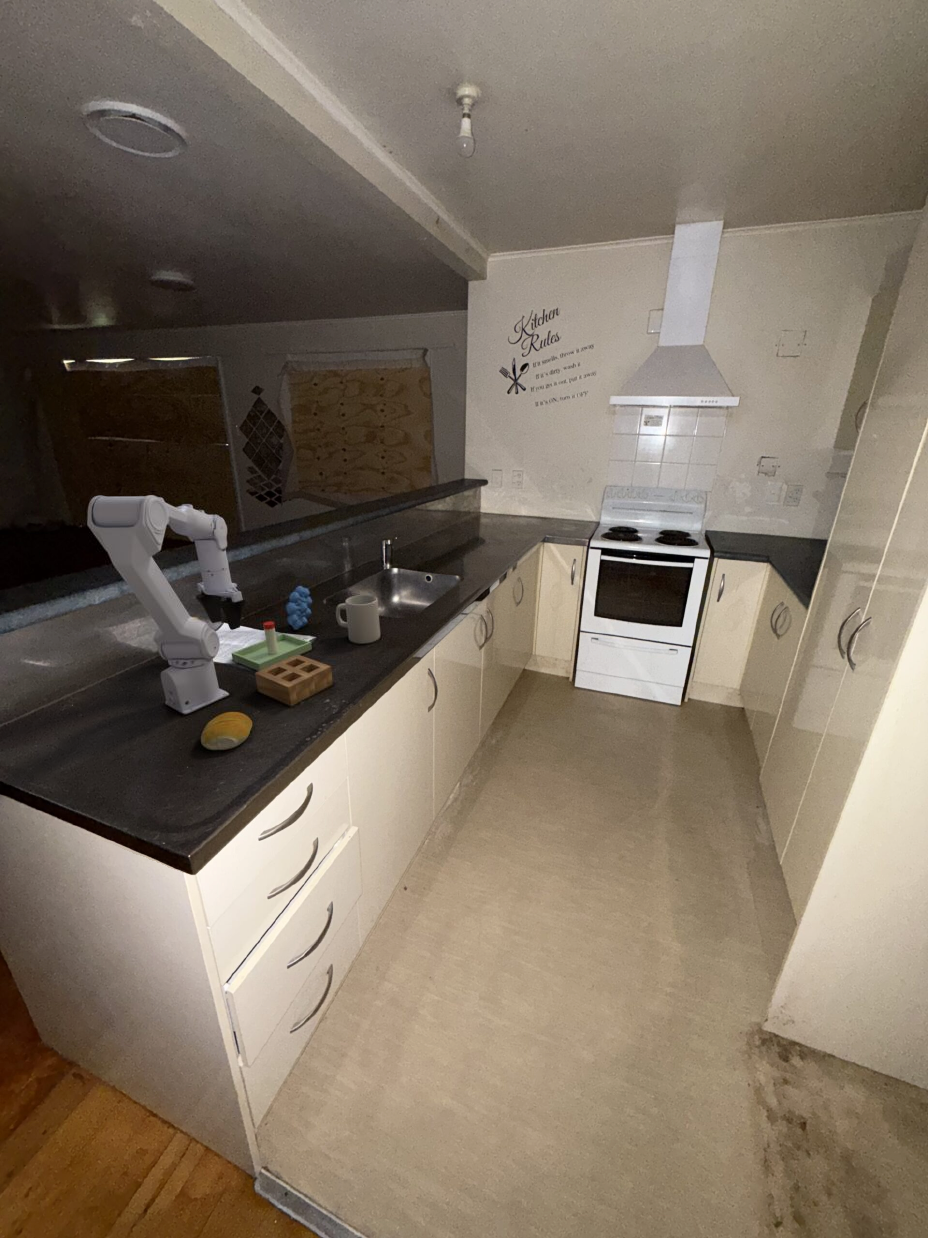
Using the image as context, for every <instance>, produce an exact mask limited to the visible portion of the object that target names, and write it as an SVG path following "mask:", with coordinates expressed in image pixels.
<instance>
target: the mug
mask: <svg viewBox="0 0 928 1238" xmlns="http://www.w3.org/2000/svg"><path fill="white" fill-rule="evenodd" d="M378 599H379V598H377V597H376V596H374V595H371V594H358V595H352V596H350V597H348V598H346V599H345V602H344V603H339V604H338V605H337V606H336V608H335V619H336V622H337V624H338V625H339V627H341V628H344V629H347V635H348V640H349V641H350V642H351V643H354V644H358V645H359V644H371V643H375V642H376V641H378V640H379V639H380V638H381V627H380V614H379V613H380V612H379V602H378V601H379V600H378ZM341 610H345V612H346V621H344V620H343V619H342V618H341Z"/></svg>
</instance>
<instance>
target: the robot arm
mask: <svg viewBox="0 0 928 1238" xmlns="http://www.w3.org/2000/svg"><path fill="white" fill-rule="evenodd" d="M86 524H87V527H88V528H89V529H90V531H91V532H92V534H93V536H95V538H96V539H97V540H98V542H99V543H100V545H101V546H102V548H103V549H104V550H105V551H106V552H107V554H108V556H109V558H110V561H111V563H112V565H113V566H114V568H115V570H116V571H117V572H118V573H119V575H120V576H121V578H122V579H123V580H124V582H125V583H126V584H127V586H128V587H129V588H130V590H131V591H132V592H133V594H134V595H135V597H136V598H137V599H138V601H139V602H140V603H141V605H142V606H143V608H144V609H145V610H146V611H147V613H148V614H149V615H150V617H151V619H153V621H154V623H156V625H157V626H158V627H157V628H156V630H155V633H154V634H153V642H154V643H155V644H156V646H157V652H158V653H159V656H160V657H161V658H162V659H163V660H165V661H167V664H168V665H169V667H167V668H165V669H164V670H162V671H161V672H160V681H161V686H162V689H163V693H164V698H165V700H166V701H165V705H166V706H168V707H170V708H172V709H174V710H175V711H177V712H179V713H181V714H183V715H188V714H191V713H193V712H196V711H197V710H199V709H201V708H204V707H206V706H208V705H210V704H212V703H215V702H217V701H220V700H222V699H223V698H226V697H228V696H230V693H229V692H228V691H226V690H223V689H222V688H220V687H219V682H218V681H219V680H218V677H217V672H216V669H215V668H216V667H215V663H214V659H215V657H216V656H217V655H218V653H219V651H220V646H221V645H220V637H219V634H218V633H217V632H216V630H215V629H213V628H211V627H210V626H209V624H208V623H207V622H205V621H204V620H200V619H199V620H198V619H195V618H193V617H194V616H193V617H192V616H191V615H190V614H189V612H188V611H187V609H186V607H185V606H184V605H183V603H182V602H181V600H180V598H179V596H178V594H176V592H175V590H174V589H173V587H172V586H171V584H170V582H169V581H168V580H167V578H166V577H165V575H164V574H163V572H162V570H161V568H160V567H159V565H158V564H157V563H156V561H155V559H154V558H153V556H155V555H156V554H157V553H159V552H160V551H161V550H162V546H163V541H164V538H165V533H166V529H167V526H169V527H170V529H171V530H172V531H173V532H174V533H176V534H178V535H182V536H184V537H187V538H188V539H189V540H190V542H194V545H195V549H196V550H195V551H196V554H197V560H198V564H199V565H198V566H199V569H200V575H201V579H202V582H198V583H196V585H197V590H198V592H199V593H200V594H197V595H195V599H196V600H197V601H198V602H199V604H200V605H201V606H202V607H203V609H204V611H205V612H206V615H207V616H208V619H209V620H210V622H211V624H215V623H219V622H222V617H223V616H222V615H223V614H224V616H225V619H226V622H227V625H228V627H229V630H230V631H234V630H237V629H240V628H241V623H242V613H243V610H244V607H245V605H246V603H247V598H246V597H243V594H242V591H240V590H238V589H237V587H238V584H237V583H235V582H232V578H231V572H230V566H229V565H230V564H229V561H228V560H229V559H228V555H227V549H226V548H227V547H228V539H227V535H228V526H227V524H226V521H225V519H224V518H223V517H222V516H220V515H218V514H208V513H205V510H202V509H195V508H194V506H193V504H190V503H182V504H181V505H179V506H173V505H172V504H169V503H167V502H166V501H165V499H164V498H163V497H161V496H160V497H159V496H156V495H153V494H150V495H145V496H143V495H139V496H138V495H137V496H105V495H95V496H94V497H92V498H91V499H90V501H89V503H88V507H87V523H86ZM222 598H225V599H224V600H222ZM222 612H223V614H222Z"/></svg>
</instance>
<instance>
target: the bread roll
mask: <svg viewBox="0 0 928 1238" xmlns="http://www.w3.org/2000/svg"><path fill="white" fill-rule="evenodd" d="M252 728H253V721H252V720H251V718H250V717H249V716H248V715H246V714H245V713H242V712H239V711H229V712H224V713H221V714H219V715H217V716H215V717H214V718H212V720H209V721H208V723H207V724H206V725H205V727H204V728H203V731H202V733H201V736H200V742H201V745H202V746H203V748H205V749H206V750H211V751H224V750H230V749H233V748H237V747H238V746H239V745H242V743H244V742H246V740H247V739H248V737H249V735H250V733H251V730H252Z"/></svg>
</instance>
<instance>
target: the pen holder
mask: <svg viewBox="0 0 928 1238" xmlns="http://www.w3.org/2000/svg"><path fill="white" fill-rule="evenodd" d="M254 676H255V682H256V687H257V692H259V693H261V694H263V695H265V696H267V697H270V698H272V699H274V700H276V701H278V702H280V703H282V704H285V705H287V706H289V707H293V706H295V705H297V704H299V703H300V702H302V701H304V700H306V699H308V698H310V697H312V696H313V695H316V694H317V693H319V692H321V691H323V690H325V689H327V688H329V687H330V686H333V685H334V680H333V672H332V666H331V665H329V664H325V663H323V662H320V661H317V660H315V659H311V658H309V657H306V656H303V655H302V654H300V655H295V656H293V657H291V658H288V659H286V660H284V661H281V662H279V663H277V664H275V665H272V666H270V667H268V668H265V669H263V670H261V671H256V672H255V673H254Z"/></svg>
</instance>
